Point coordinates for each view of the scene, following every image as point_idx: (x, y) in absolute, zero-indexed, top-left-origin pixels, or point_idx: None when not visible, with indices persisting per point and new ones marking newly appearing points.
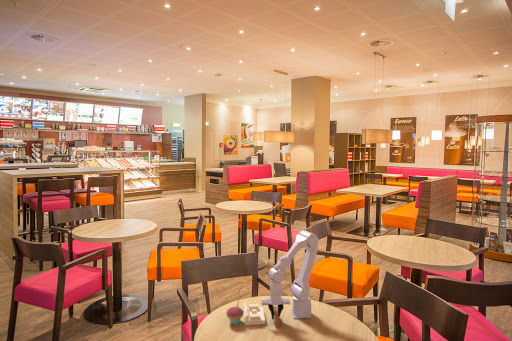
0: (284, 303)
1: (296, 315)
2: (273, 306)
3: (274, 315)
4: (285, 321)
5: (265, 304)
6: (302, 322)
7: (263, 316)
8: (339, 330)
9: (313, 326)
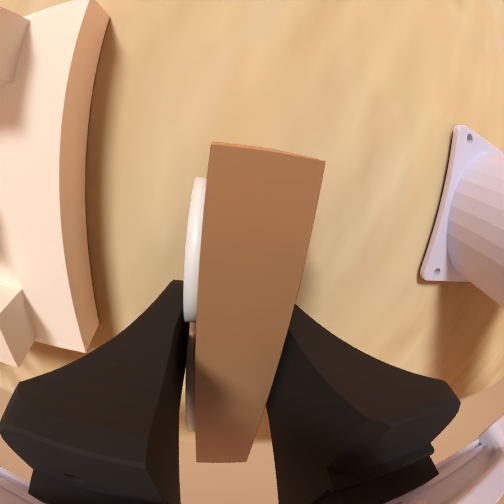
0: (430, 484)
1: (456, 264)
2: (240, 169)
3: (191, 429)
4: (329, 306)
5: (6, 485)
6: (433, 324)
7: (55, 273)
8: (483, 370)
9: (446, 359)
